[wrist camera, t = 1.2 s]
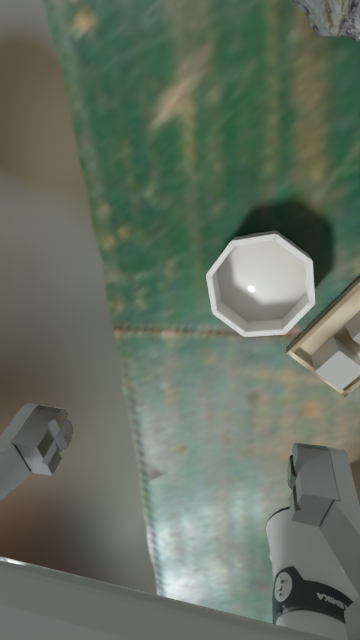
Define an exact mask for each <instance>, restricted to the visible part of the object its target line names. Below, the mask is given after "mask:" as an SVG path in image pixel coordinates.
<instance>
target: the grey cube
mask: <svg viewBox="0 0 360 640" xmlns="http://www.w3.org/2000/svg"><path fill="white" fill-rule="evenodd" d="M311 357H312V361H313V366H314V370H315V372H316V373H317V374H318V375H320V376H321V377H322V378H324V379H325V380H326V381H328V382H329V383H330V384H332V385H333V386H335V387H336V388H337V389H339V390H340V391H341V390H342V389H343V388H345V387H346V386H347V385H348V384H350V383H351V382H352V381H353V380H355V379H356V378H357V377H358V376H360V358H359V356H358V354H357V353H356V352H355V351H353V350H352V349H351V348H349V347H348V346H346V345H345V344H344V343H342V342H341V341H340V340H338V339H337V338H336V337H334V336H332V337H331V338H330V339H329V340H328V341H327V342H326V343H324V344H323V345H322V346H321V347H320V348H319V349H318V350H317V351H316V352H315V353H314V354H313V355H311Z"/></svg>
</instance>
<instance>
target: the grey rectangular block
mask: <svg viewBox="0 0 360 640" xmlns="http://www.w3.org/2000/svg"><path fill="white" fill-rule="evenodd" d="M345 326H346V328H347V330H348V332H349V334H350V336H351V338H352V339H353V340H354V341H356V342H357V343H358V344H360V311H359V312H358V313H357V314H356V315H355V316H354V317H353V318H352V319H350V320H349V321H348V322H347V323H346V324H345Z"/></svg>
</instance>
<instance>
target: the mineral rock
mask: <svg viewBox="0 0 360 640" xmlns="http://www.w3.org/2000/svg"><path fill="white" fill-rule="evenodd" d="M294 1H295V2H296V4H297V5H298V6H299V7H300V8H302V9H303V11H304V13H305V14H306V15H307V17H308V19H309V22H310V26H311V27H312V28H313V29H314V30H315V31H317V32H318V34H319V35H322V36H337V37H339V36H342V37H344V36H347V37H349V38H352V39H354V40H356V41H360V0H294Z"/></svg>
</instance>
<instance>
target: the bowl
mask: <svg viewBox="0 0 360 640" xmlns="http://www.w3.org/2000/svg"><path fill="white" fill-rule="evenodd" d="M206 279H207V284H208V290H209V296H210V302H211V308H212V313H213V314H214V315H215V316H216V317H218V318H219V319H220V320H222V321H223V322H225V323H226V324H227V325H229V326H230V327H231V328H233V329H234V330H235V331H237V332H238V333H239V334H241V335H242V336H243V337H252V336H267V335H282V334H286V333H287V332H288V331H289V330H290V329H291V328H292V327H293V326H294V325H295V324H296V323H297V322H298V321H299V320H300V319H301V318H302V317H303V316H304V315H305V314H306V313H307V312H308V311H309V310H310V309H311V308H312V307H313V306H314V305H315V304H314V303H315V291H314V274H313V261H312V259H311V257H310V255H309V254H307V253H306V252H305V251H303V250H302V249H301V248H299V247H298V246H297V245H296V244H295V243H293V242H292V241H290V240H289V239H287V238H286V237H285V236H283V235H282V234H280V233H279V232H278V231H276V230H275V231H269V232H261V233H254V234H249V235H245V236H239V237H235V238H233V239H232V240H231V241H230V243H229V244H228V246H227V247H226V248H225V250H224V251H223V252H222V254H221V255H220V257H219V258H218V259H217V261H216V262H215V263H214V265H213V266H212V267H211V269H210V270H209V272H208V273H207V274H206Z"/></svg>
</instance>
